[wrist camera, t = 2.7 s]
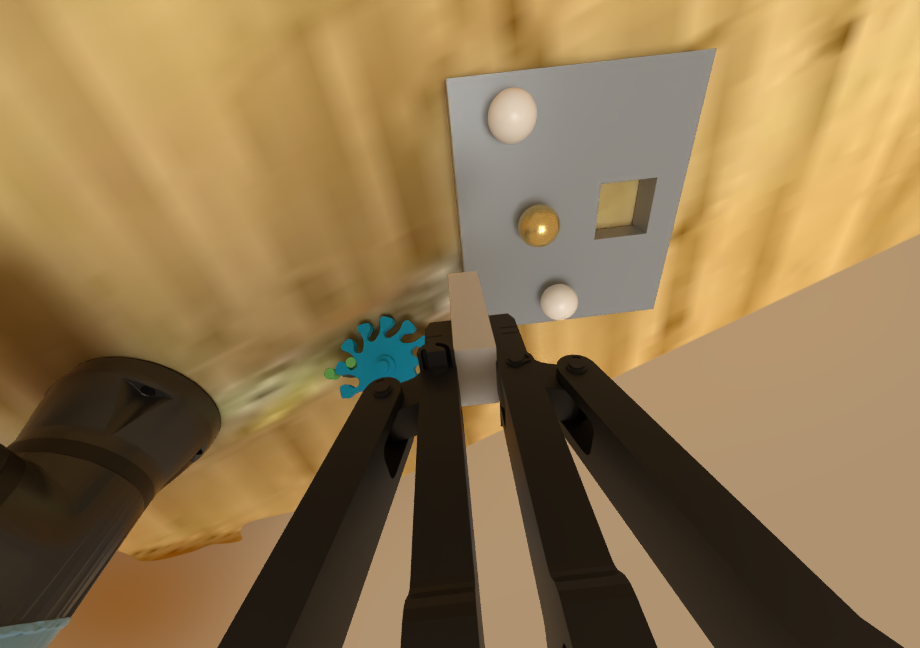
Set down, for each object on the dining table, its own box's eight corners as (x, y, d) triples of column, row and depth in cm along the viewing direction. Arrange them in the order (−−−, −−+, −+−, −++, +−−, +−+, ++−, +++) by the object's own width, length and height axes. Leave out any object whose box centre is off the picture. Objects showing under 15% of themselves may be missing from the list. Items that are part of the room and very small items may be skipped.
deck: (467, 317, 35) (470, 330, 33) (444, 81, 25) (446, 78, 22) (640, 296, 36) (653, 308, 33) (692, 53, 25) (716, 48, 23)
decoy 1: (535, 310, 33) (545, 329, 30) (536, 280, 31) (547, 296, 28) (569, 306, 33) (581, 324, 30) (572, 275, 31) (585, 292, 28)
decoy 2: (485, 144, 25) (492, 149, 22) (483, 91, 23) (490, 88, 20) (529, 139, 25) (542, 143, 22) (530, 85, 23) (544, 83, 20)
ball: (514, 241, 29) (523, 255, 26) (514, 202, 27) (523, 213, 24) (552, 237, 29) (564, 250, 26) (554, 197, 27) (567, 207, 24)
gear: (435, 312, 33) (435, 420, 31) (444, 324, 39) (445, 416, 37) (325, 317, 34) (318, 421, 32) (350, 328, 40) (345, 418, 38)
